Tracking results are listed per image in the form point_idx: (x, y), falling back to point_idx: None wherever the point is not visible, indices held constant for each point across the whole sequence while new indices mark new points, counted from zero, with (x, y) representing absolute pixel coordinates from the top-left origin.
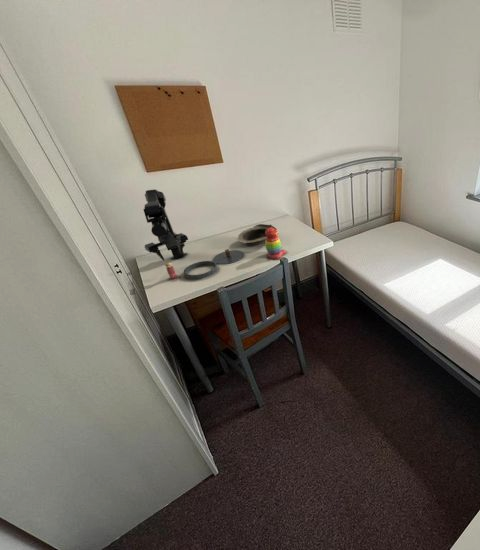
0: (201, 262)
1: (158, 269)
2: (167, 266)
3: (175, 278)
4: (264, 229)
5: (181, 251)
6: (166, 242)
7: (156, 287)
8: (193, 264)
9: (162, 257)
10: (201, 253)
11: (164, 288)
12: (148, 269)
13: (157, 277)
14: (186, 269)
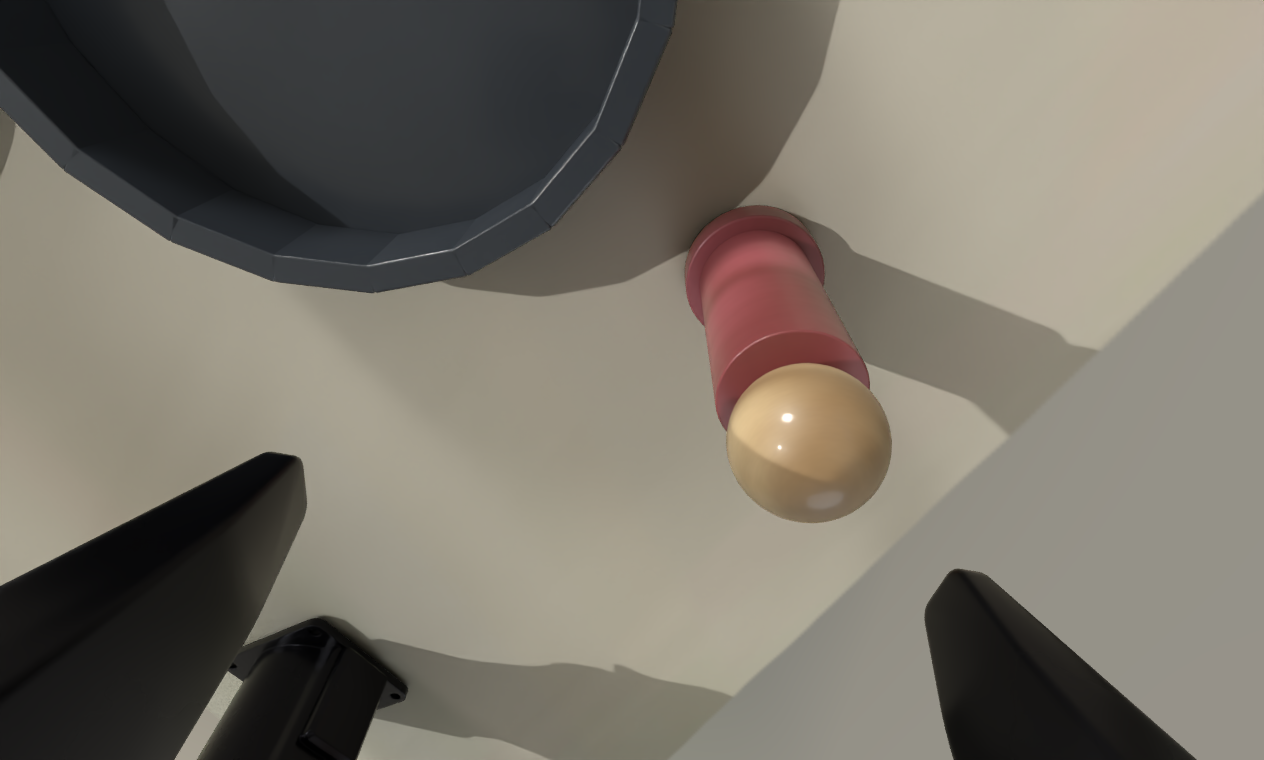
0: (137, 179)
1: (642, 635)
2: (876, 403)
3: (774, 214)
4: None
5: (204, 518)
6: None
7: (1070, 285)
8: (303, 256)
9: (1085, 696)
10: (64, 532)
11: (1098, 115)
12: (687, 705)
13: None
14: (506, 214)
